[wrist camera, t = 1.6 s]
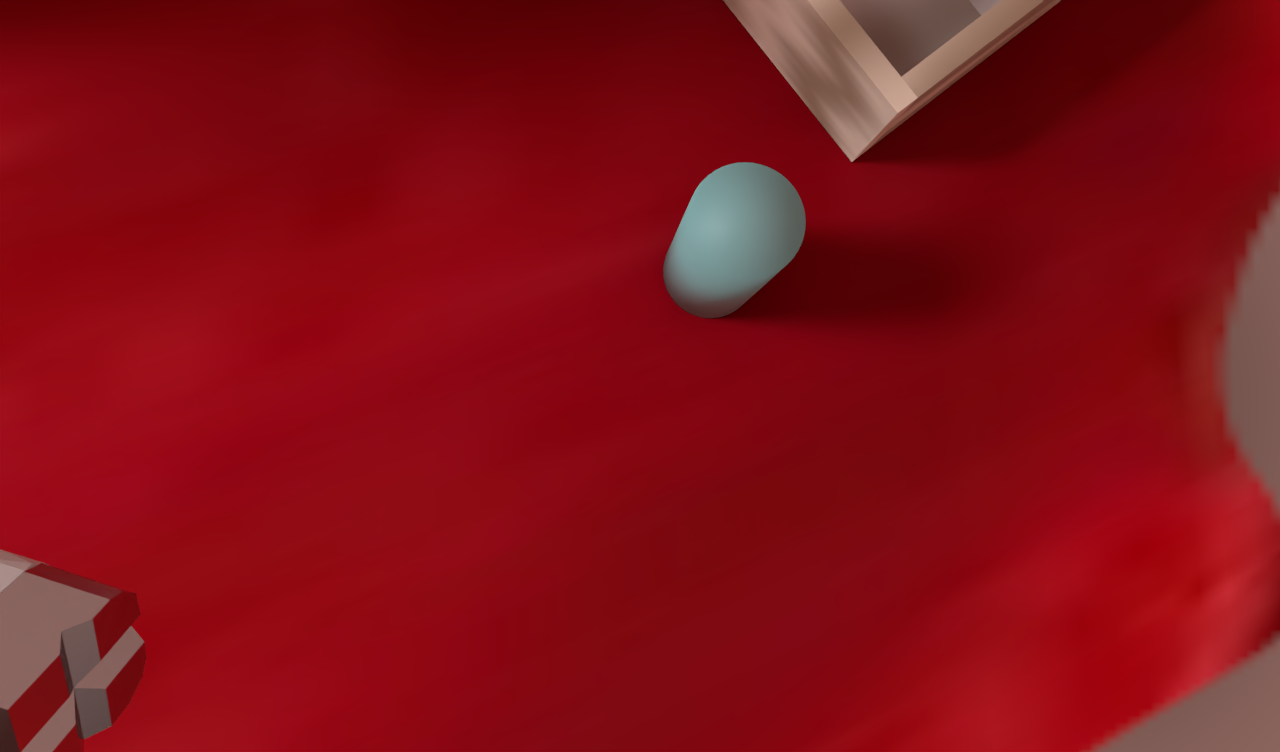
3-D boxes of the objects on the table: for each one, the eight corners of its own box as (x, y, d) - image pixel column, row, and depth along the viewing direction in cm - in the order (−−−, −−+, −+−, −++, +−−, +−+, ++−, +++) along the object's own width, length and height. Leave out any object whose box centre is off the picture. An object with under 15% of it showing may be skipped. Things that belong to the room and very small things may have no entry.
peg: (644, 263, 41) (663, 209, 32) (716, 207, 41) (755, 139, 32) (702, 336, 41) (737, 303, 32) (774, 280, 41) (829, 231, 32)
